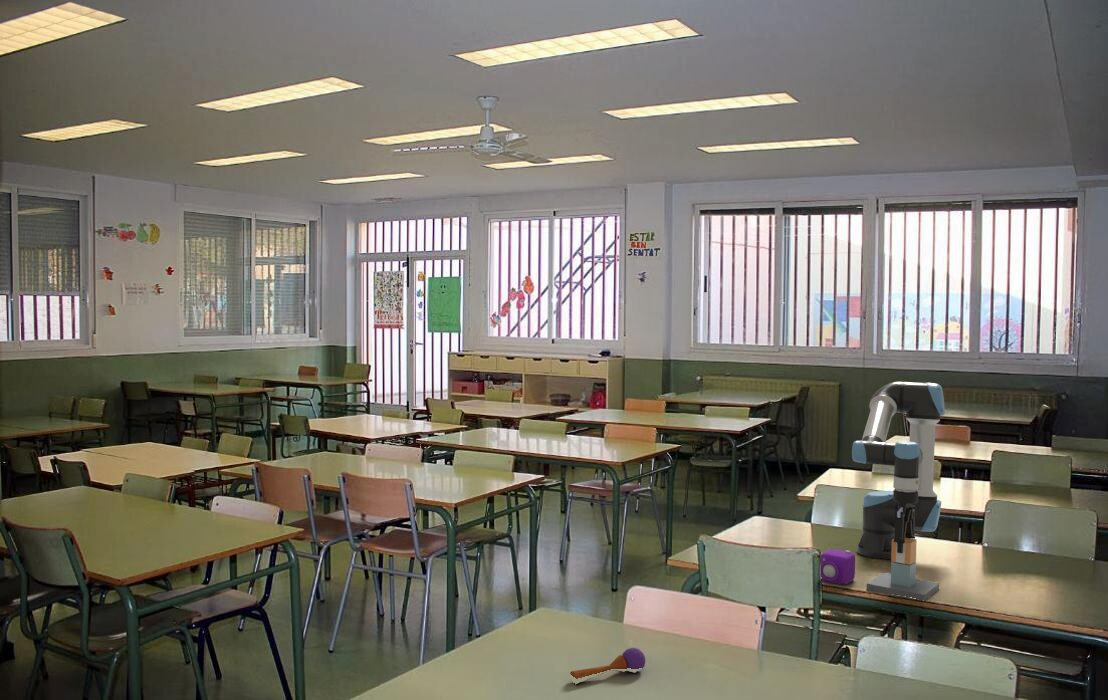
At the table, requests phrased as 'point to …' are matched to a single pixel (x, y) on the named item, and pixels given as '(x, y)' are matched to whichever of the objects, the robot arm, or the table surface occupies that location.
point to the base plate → (903, 587)
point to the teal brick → (903, 574)
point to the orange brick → (906, 551)
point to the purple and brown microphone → (616, 663)
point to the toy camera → (838, 566)
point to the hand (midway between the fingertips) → (903, 560)
